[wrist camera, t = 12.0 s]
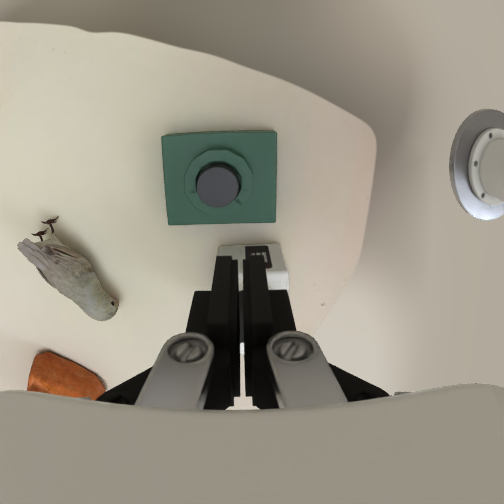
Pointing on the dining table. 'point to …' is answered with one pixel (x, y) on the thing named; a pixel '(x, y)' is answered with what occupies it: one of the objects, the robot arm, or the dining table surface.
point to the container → (273, 265)
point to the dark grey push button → (218, 185)
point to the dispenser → (231, 154)
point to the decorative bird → (69, 274)
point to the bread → (62, 378)
